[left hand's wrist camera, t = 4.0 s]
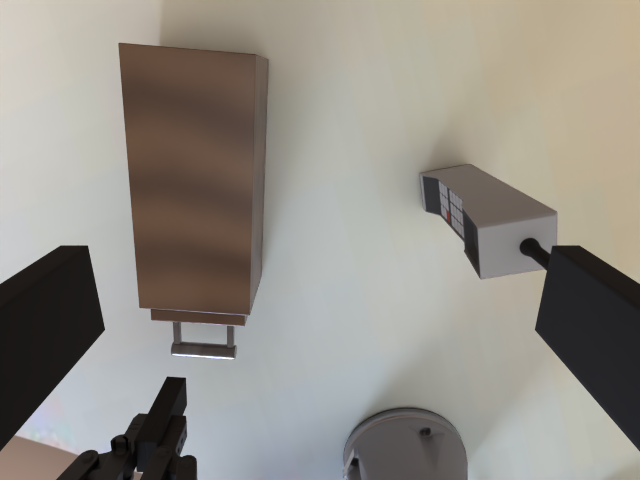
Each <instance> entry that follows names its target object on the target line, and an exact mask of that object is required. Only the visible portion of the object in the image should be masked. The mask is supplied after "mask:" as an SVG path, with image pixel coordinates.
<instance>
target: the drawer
mask: <svg viewBox="0 0 640 480" xmlns="http://www.w3.org/2000/svg"><path fill="white" fill-rule="evenodd" d="M247 317H248V315H236V314H221V313H206V312H191V311H177V310H162V309H151V320H155V321H170V322H173V332H174V342H173V344H172V347H171V354H172V356H185V357H200V358H216V359H231V360H234V359H235V358H236V352H237V347H236V345H234V326H245V323H246V320H247ZM181 322H185V323H200V324H215V325H227V345H224V344H209V343H194V342H181Z"/></svg>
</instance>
